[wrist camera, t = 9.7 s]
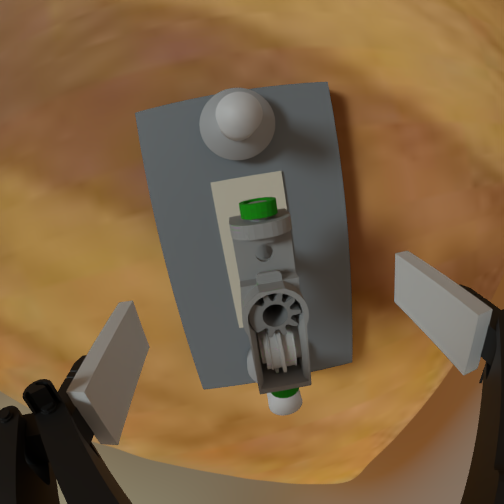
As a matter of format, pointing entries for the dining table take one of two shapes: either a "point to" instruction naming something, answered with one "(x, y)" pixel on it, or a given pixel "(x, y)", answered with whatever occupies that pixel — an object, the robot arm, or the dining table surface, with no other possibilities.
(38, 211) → the dining table surface
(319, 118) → the gear board
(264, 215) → the mechanical component
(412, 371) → the dining table surface
